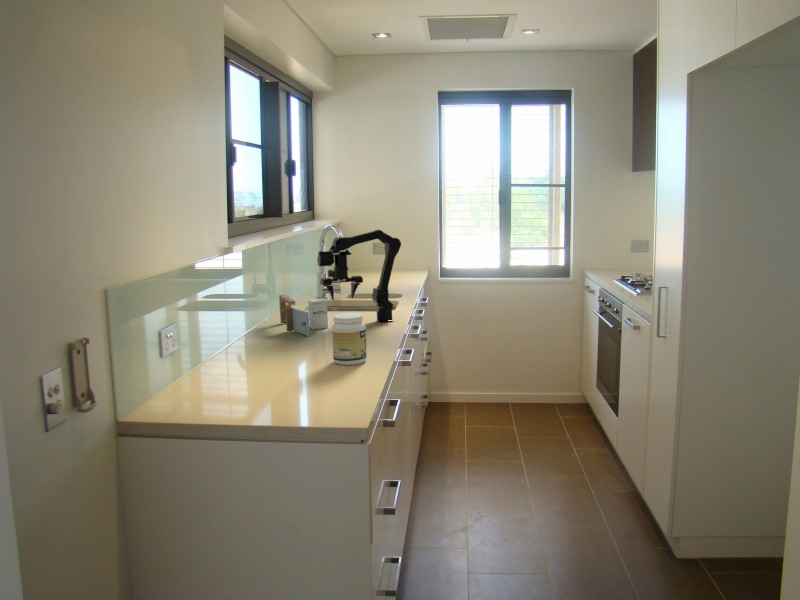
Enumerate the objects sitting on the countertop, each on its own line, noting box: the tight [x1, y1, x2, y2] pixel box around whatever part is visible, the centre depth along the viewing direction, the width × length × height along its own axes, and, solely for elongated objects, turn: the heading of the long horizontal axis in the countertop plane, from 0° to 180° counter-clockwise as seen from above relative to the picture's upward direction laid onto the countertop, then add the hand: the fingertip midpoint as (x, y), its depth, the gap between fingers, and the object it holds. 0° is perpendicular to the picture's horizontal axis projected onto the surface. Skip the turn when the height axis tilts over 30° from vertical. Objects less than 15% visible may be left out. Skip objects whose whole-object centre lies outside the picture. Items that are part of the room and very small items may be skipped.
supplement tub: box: [331, 312, 368, 366], centre depth 251 cm, size 12×12×17 cm
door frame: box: [278, 294, 296, 332], centre depth 318 cm, size 22×4×14 cm, turn 22°
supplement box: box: [308, 298, 329, 330], centre depth 316 cm, size 7×7×13 cm
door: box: [291, 307, 311, 337], centre depth 303 cm, size 16×2×10 cm, turn 32°
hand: (342, 299), depth 319 cm, fingers open, 9 cm apart
